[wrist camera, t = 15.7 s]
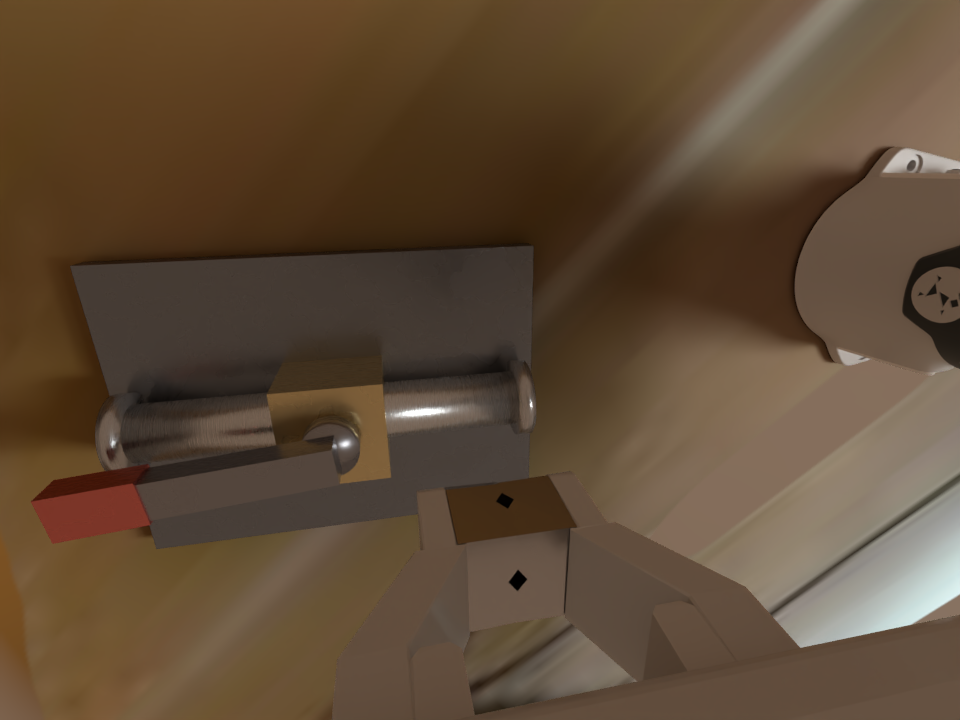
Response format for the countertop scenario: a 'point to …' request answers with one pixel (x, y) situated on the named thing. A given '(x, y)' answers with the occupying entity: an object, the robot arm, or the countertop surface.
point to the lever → (197, 483)
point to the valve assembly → (317, 371)
